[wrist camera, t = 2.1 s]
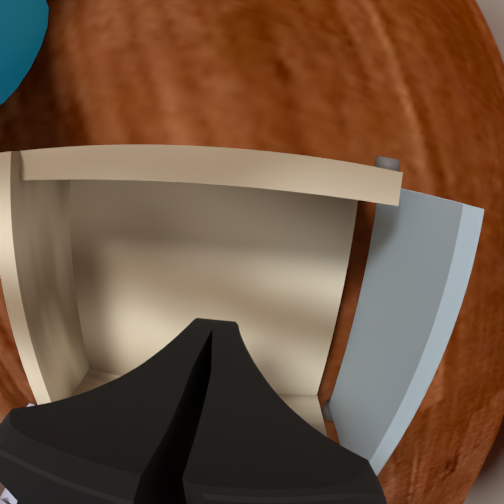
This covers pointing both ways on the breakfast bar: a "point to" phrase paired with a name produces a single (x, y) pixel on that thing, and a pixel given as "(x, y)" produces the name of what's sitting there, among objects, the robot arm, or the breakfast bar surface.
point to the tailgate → (402, 318)
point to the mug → (19, 40)
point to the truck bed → (178, 257)
